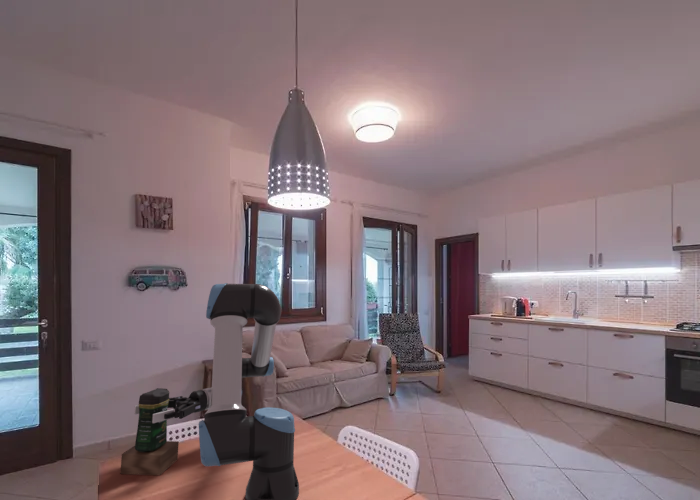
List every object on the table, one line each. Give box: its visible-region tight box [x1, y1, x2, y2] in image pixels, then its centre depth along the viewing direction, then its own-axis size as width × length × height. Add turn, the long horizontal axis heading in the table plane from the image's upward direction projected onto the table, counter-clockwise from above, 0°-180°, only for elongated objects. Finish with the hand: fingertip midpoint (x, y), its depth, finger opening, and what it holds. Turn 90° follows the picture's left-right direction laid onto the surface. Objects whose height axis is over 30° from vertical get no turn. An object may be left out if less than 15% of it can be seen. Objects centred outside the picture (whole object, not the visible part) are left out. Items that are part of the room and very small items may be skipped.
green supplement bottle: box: [134, 387, 170, 452], centre depth 125 cm, size 10×8×19 cm
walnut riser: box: [119, 440, 179, 476], centre depth 123 cm, size 13×11×6 cm
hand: (143, 414), depth 122 cm, fingers open, 13 cm apart
